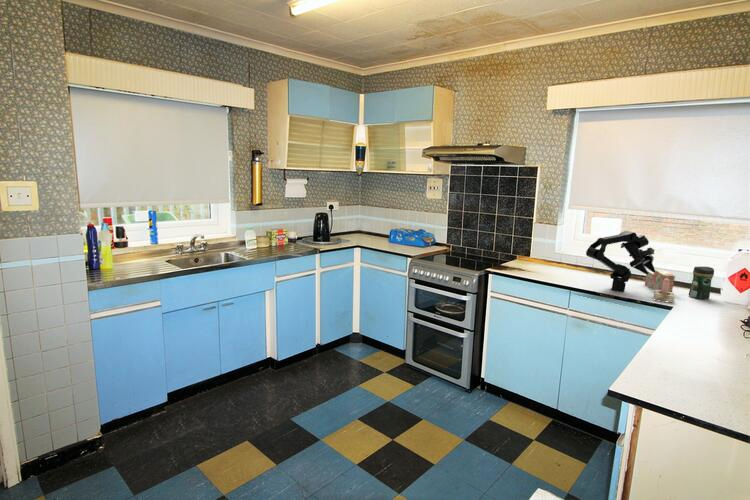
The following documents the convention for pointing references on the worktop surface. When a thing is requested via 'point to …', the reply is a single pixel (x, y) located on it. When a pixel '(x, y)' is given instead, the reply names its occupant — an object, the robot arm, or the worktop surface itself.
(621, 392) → the worktop surface
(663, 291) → the needle peg
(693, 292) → the coffee jar
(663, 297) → the bead block
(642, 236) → the robot arm
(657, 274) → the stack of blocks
